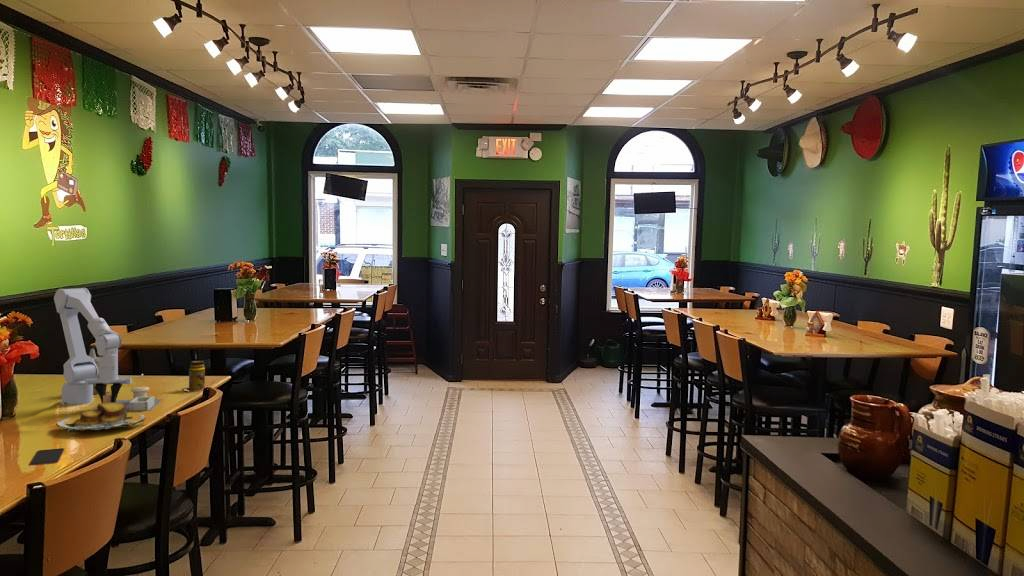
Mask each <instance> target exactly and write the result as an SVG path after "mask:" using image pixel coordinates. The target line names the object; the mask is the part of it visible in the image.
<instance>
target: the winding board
mask: <svg viewBox="0 0 1024 576" xmlns="http://www.w3.org/2000/svg"><path fill="white" fill-rule="evenodd" d="M149 390H150V387H149V386H137V387H133V388H131V389H130V392H132V393H133V394H132V395H133V396H132V397H133V398H132V399H116V402H117V403H122V404H124V405H125V406H126V409H127V412H140V411H141V412H142V411H143V412H145V411H146V412H147V411H149V412H150V411H152V410H153V409H154V408H155V407H156V406H158V404H159V403H161V401H162V400H164V398H155V396H148V393H147V392H148V391H149ZM97 407H98V405H96V406H94V407H93V408H92V409H91V410H94V409H97Z"/></svg>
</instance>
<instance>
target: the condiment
mask: <svg viewBox="0 0 1024 576" xmlns="http://www.w3.org/2000/svg"><path fill="white" fill-rule="evenodd" d="M205 385H206V368H205V362H204V360H191V361H190V362H189V368H188V387H182V390H183V389H187V390H189V391H187V392H186V393H190V392H196V391H195V390H201V391H200V392H203V391H202V389H203V388H204V387H205V388H206V386H205Z"/></svg>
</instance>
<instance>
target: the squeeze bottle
mask: <svg viewBox="0 0 1024 576" xmlns="http://www.w3.org/2000/svg"><path fill="white" fill-rule="evenodd" d="M88 356H89V357H91V358H93V359H94V361H95V364H96V365H97V367H98V370H99V356H97V355H96V351H95V348H90V351H89V354H88ZM97 378H99V374H98V377H97ZM95 386H96V384H93V395H97V394H98V392H97V391H96V389H95ZM98 395H99V394H98Z"/></svg>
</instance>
